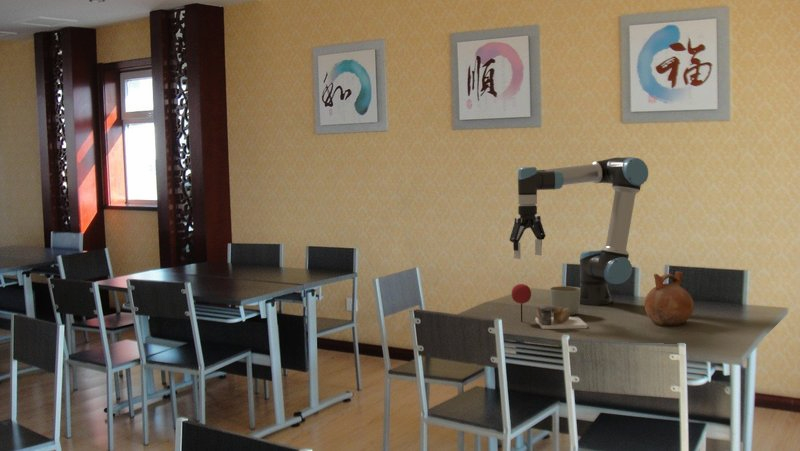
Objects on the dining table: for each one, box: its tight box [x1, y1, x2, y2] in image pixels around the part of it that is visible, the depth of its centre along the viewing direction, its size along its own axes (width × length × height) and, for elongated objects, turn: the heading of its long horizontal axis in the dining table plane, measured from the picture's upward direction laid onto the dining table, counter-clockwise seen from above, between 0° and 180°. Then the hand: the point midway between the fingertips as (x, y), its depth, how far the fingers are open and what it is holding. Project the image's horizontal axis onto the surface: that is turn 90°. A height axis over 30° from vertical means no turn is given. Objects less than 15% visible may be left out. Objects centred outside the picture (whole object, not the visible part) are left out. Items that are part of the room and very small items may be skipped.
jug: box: [644, 271, 695, 327], centre depth 316 cm, size 18×18×20 cm
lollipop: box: [511, 283, 532, 322], centre depth 324 cm, size 8×8×15 cm
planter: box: [549, 285, 581, 317], centre depth 336 cm, size 12×12×11 cm
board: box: [534, 316, 588, 330], centre depth 318 cm, size 17×16×1 cm
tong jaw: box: [539, 305, 570, 323], centre depth 316 cm, size 8×16×6 cm, turn 152°
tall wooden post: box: [536, 306, 552, 325], centre depth 318 cm, size 4×15×6 cm, turn 0°
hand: (528, 256), depth 334 cm, fingers open, 13 cm apart
